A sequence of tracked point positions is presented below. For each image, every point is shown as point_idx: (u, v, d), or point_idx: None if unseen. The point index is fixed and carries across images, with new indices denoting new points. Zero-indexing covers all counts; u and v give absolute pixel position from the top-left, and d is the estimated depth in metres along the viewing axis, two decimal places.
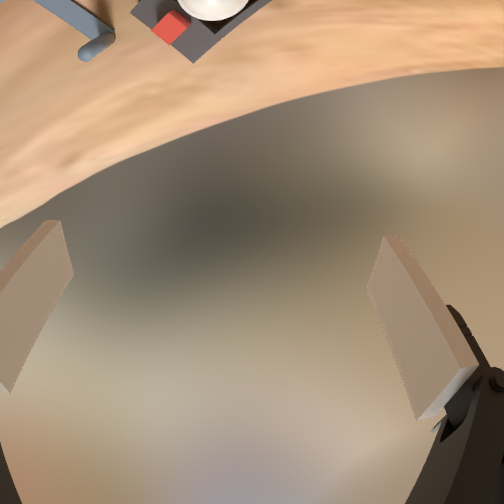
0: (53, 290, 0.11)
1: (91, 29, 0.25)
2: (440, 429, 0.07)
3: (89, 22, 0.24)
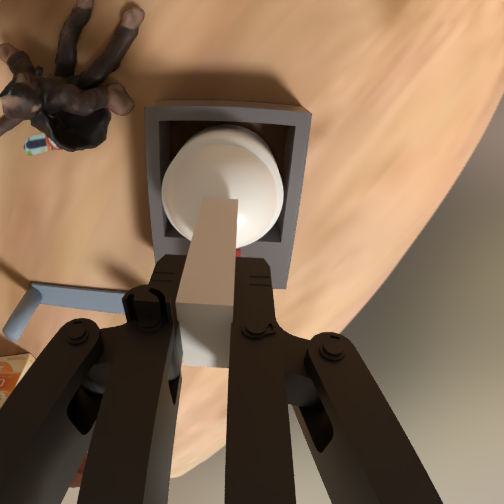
0: None
1: None
2: None
3: None
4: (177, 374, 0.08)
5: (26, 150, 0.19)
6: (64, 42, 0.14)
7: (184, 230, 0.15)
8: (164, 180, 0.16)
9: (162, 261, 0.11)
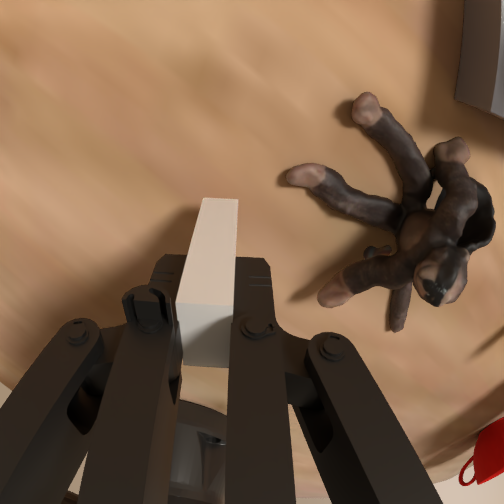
0: None
1: None
2: None
3: None
4: (177, 374, 0.08)
5: None
6: (362, 209, 0.15)
7: None
8: None
9: (162, 261, 0.11)
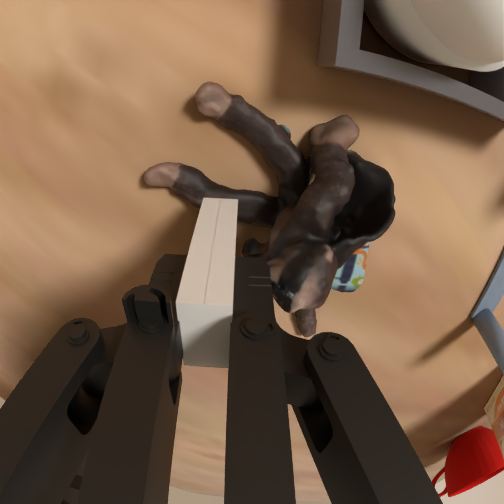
0: None
1: None
2: None
3: None
4: (177, 374, 0.08)
5: (349, 284, 0.18)
6: None
7: None
8: (445, 53, 0.08)
9: (162, 261, 0.11)
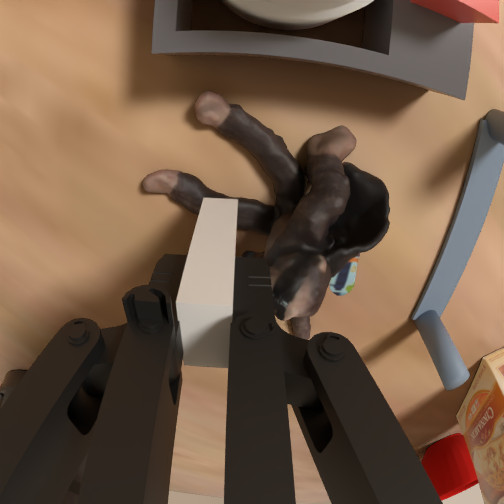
0: None
1: (491, 165, 0.14)
2: None
3: (481, 176, 0.14)
4: (177, 374, 0.08)
5: (343, 291, 0.19)
6: None
7: None
8: (264, 8, 0.07)
9: (162, 260, 0.11)
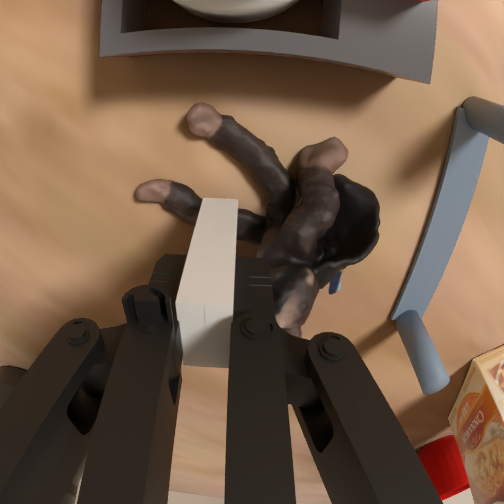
0: None
1: (471, 157, 0.13)
2: None
3: (460, 167, 0.14)
4: (177, 374, 0.08)
5: None
6: None
7: None
8: (196, 2, 0.07)
9: (162, 261, 0.11)
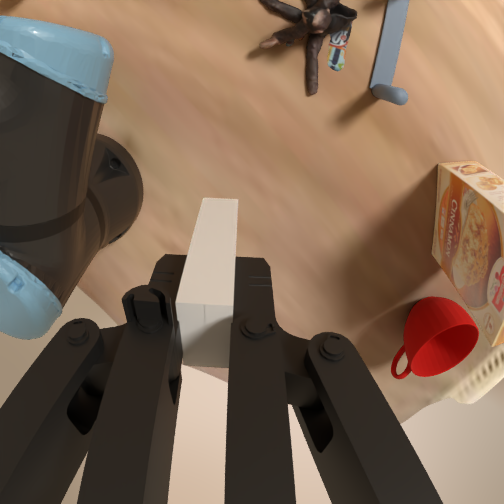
0: None
1: (400, 6, 0.25)
2: None
3: (394, 9, 0.25)
4: (177, 374, 0.08)
5: (336, 66, 0.30)
6: (283, 7, 0.26)
7: None
8: None
9: (162, 261, 0.11)
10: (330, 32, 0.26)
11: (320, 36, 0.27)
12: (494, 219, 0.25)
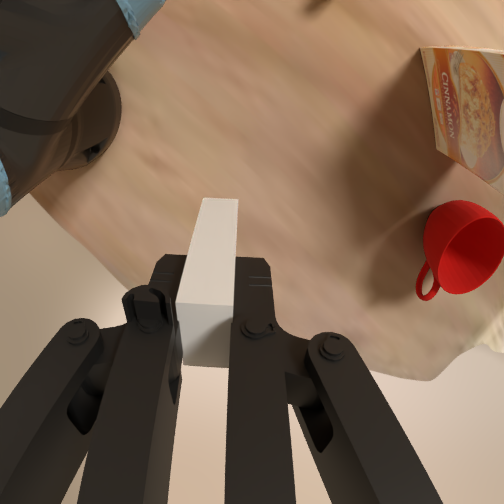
0: None
1: None
2: None
3: None
4: (177, 374, 0.08)
5: None
6: None
7: None
8: None
9: (162, 261, 0.11)
10: None
11: None
12: (485, 64, 0.19)
